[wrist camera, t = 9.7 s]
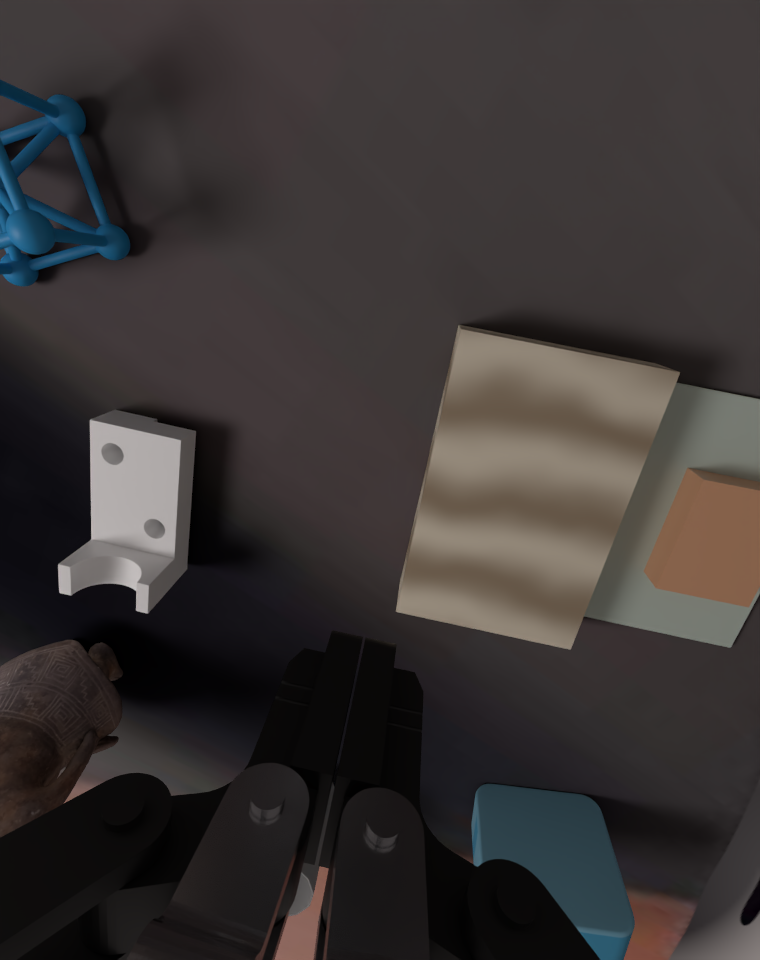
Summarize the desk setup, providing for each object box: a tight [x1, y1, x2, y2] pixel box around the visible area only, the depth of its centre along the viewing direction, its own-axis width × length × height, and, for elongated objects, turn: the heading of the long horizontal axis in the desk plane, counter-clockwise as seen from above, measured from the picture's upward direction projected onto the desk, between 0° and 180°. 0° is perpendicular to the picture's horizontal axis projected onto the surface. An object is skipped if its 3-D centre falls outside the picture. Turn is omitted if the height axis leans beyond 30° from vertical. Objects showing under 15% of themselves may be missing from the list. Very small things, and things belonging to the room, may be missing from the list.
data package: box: [472, 784, 635, 960], centre depth 47 cm, size 12×4×12 cm, turn 88°
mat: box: [584, 383, 760, 648], centre depth 40 cm, size 20×14×1 cm
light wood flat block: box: [396, 325, 680, 650], centre depth 38 cm, size 22×14×4 cm, turn 169°
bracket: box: [58, 410, 196, 614], centre depth 41 cm, size 13×7×8 cm, turn 168°
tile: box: [644, 468, 760, 607], centre depth 38 cm, size 9×7×2 cm
